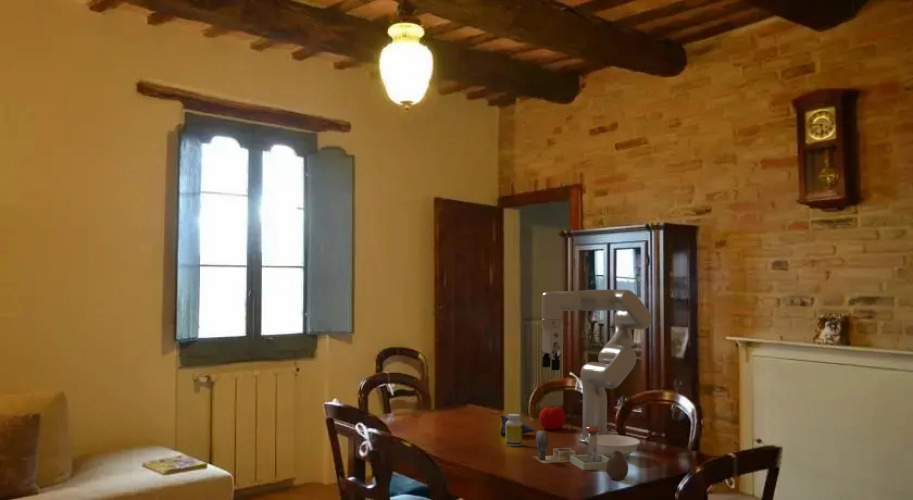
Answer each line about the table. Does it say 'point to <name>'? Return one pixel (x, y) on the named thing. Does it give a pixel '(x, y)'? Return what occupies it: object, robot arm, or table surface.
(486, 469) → the table surface
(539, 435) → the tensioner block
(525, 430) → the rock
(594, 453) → the lock pin
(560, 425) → the tomato
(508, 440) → the pill bottle
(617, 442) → the bowl
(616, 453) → the vase
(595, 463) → the tray
